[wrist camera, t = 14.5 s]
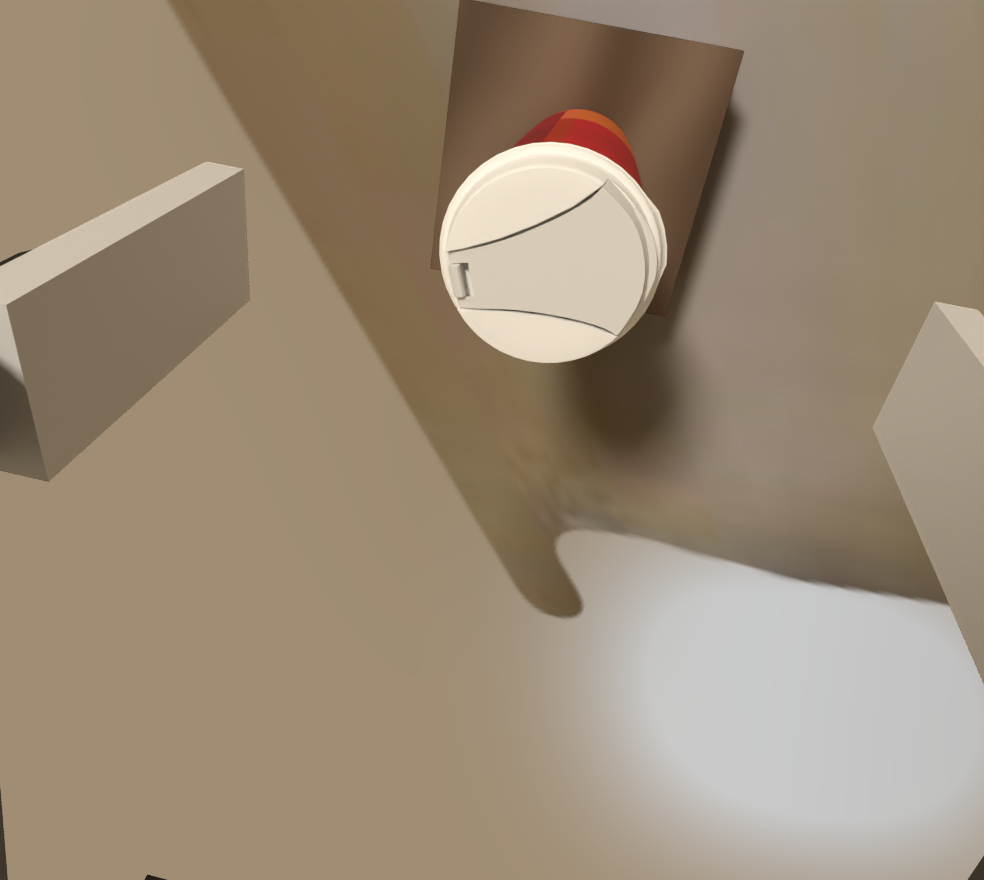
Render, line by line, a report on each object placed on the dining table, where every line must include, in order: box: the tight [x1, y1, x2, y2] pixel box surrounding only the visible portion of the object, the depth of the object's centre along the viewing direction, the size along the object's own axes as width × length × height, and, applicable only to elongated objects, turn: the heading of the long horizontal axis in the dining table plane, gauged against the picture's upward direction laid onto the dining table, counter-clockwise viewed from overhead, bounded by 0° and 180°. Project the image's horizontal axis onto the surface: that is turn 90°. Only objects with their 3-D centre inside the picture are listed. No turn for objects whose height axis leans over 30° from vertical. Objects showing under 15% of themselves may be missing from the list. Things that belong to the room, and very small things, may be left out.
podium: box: [430, 0, 744, 317], centre depth 39 cm, size 13×13×4 cm
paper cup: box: [439, 109, 667, 363], centre depth 31 cm, size 8×8×14 cm
